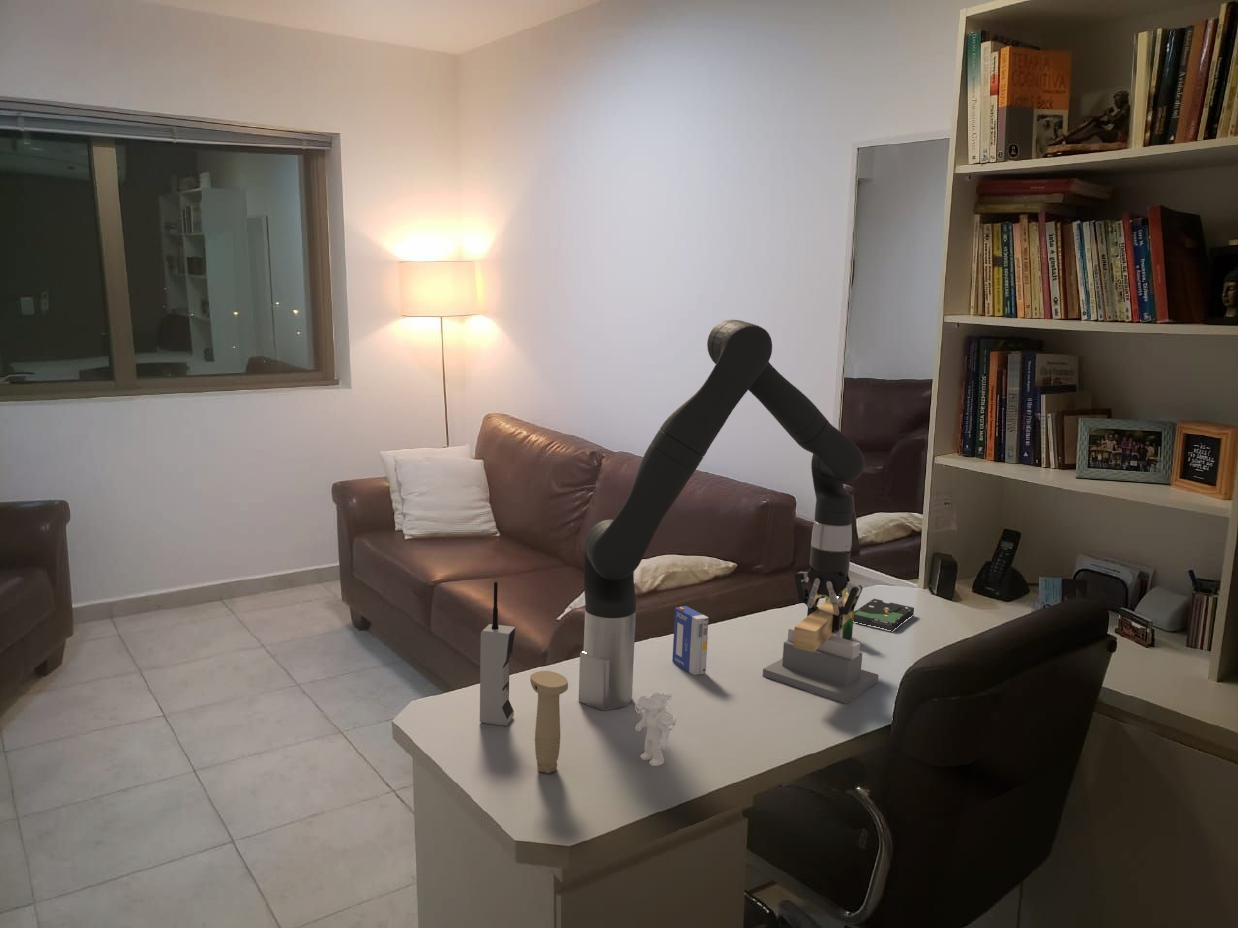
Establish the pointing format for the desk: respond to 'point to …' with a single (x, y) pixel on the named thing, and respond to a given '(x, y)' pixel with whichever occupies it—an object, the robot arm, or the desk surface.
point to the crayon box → (845, 625)
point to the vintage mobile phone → (495, 670)
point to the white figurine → (655, 726)
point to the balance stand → (823, 669)
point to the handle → (548, 718)
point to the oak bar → (816, 627)
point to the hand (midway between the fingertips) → (824, 628)
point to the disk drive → (883, 614)
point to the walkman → (690, 640)
